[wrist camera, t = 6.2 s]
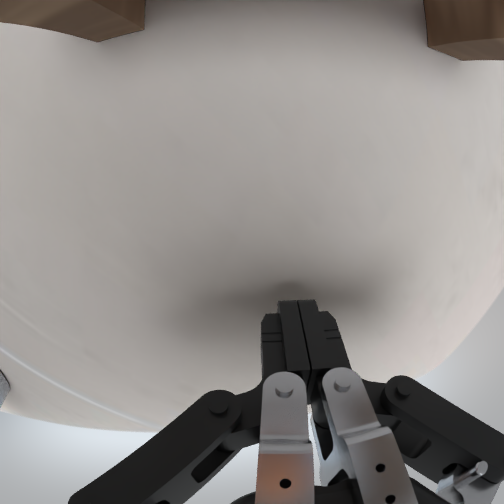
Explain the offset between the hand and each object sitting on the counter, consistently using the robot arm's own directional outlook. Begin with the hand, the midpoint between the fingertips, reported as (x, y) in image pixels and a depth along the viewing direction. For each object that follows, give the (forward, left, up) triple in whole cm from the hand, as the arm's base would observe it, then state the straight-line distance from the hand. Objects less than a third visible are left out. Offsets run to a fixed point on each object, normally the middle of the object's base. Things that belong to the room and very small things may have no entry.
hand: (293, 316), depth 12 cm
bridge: (+11, +6, -2) cm, 13 cm away
